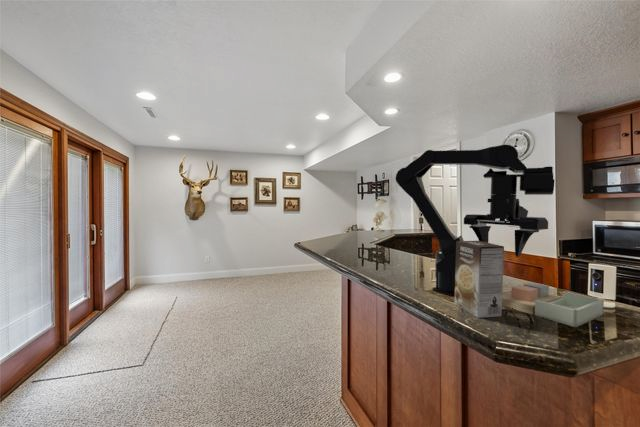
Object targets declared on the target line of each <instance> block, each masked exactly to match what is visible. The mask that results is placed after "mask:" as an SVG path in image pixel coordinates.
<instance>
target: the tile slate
mask: <svg viewBox="0 0 640 427" xmlns="http://www.w3.org/2000/svg"><path fill="white" fill-rule="evenodd" d="M522 285H523V286H527V287H532V288H536V289H538V298H542V297H546V296H548V295H549V294H550V293H549V290H550V289H549V288H550V286H549V285H546V284H542V283H537V282H533V281H530V282H526V283H523V284H522Z"/></svg>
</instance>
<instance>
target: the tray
mask: <svg viewBox="0 0 640 427" xmlns="http://www.w3.org/2000/svg"><path fill="white" fill-rule="evenodd" d="M604 302H605V300H604V299H602V298H597V297H592V296H588V295H584V294H579V293H575V292H569V291H564V290H563V291H562V298H561V299H558V300H555V301H552V302H550V303H547V302H544V301H540V300H535V314H534V316H536V317H539V316H540V317H539V318H542V317H544V319H546V318H547V319H546V320H549V321H553V322H556V323H559V324H563V325H566V326H569V327H573V328H578V327H580V326H582V325H584V324H587V323H589V322H591V321H593V320H595V319H597V318H599V317H601V316H603V315H604Z"/></svg>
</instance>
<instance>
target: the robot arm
mask: <svg viewBox="0 0 640 427" xmlns="http://www.w3.org/2000/svg"><path fill="white" fill-rule="evenodd" d="M517 150H518V149H516V147H515V146H513V145H511V144H501V145H495V146H489V147H485V148H482V149H472V150H471V149H470V150H469V149H467V150H466V149H465V150H462V149H461V150H457V149H456V150H432V149H427V150H426V151H424V152H423V153H422V154H421V155H420V156H419V157H417V158H416V159H414V160H413V161H412V162H410V163H409V164H408V165H407V166H406V167H402V168H399V170H398V171H397V173H396V174H395V182H396V184H398V186H399V187H400V188H401V189H402V190H403V191H404V193H406V194H407V195H408V196H409V197H411V199H412V200H413V201H414V203H415V205H416V206H417V208H418V210H419V211H420V213H421V215H422V216H423V218H424V219H425V222H427V224H428V226H429V228H430V229H431V231H432V232H433V234H434V235H435V237H436V238H437V241H438V246H439V245H440V248H441V252H442V254H443V257H444V258H442V259H441V260H440V261H439V262H438V263H437V264H436V277H435V286H434V287H432V288H431V289H432V291H434V292H438V293H441V294H444V295H447V296H448V295H449V296H455V268H456V241H465V240H464V238H463V236H462V235H459V236H458V237H456V235H454V234H453V233H452V231H451V230H450V229H449V226H447V224H446V222H445V220H444V219H443V218H442V216H441V215H440V213H439V211H438V209H437V208H436V206H435V205H434V203H433V202H432V200H431V198H430V197H429V196H428V194H427V193H426V190H425V186H424V183H423V180H422V177H424V176H425V175H426V174H427V172H429V171H430V169H431V168H432V167H433V166H435V165H443V166H444V165H449V166H450V165H454V166H457V165H458V166H462V165H464V166H465V165H467V166H470V165H472V166H481V167H486V168H489V169H488V171H486V173H484V174H483V178H484V179H491V181H490V182H491V183H490V198H487V203H490V204H489V206H490V208H489V213H487V214H479V213H478V214H475V213H472V214H471V213H470V214H465V216H464V218H463V225H468V227H469V228H470V229H472V230H473V233H474V234H475V236H476V237H477V239H478V240H477V241H482V242H487V243H489V234H490V233H489V232H490V230H491V227H492V226H491V225H500V226H501V225H502V226H514V227H519V229H514V253H515V257H516V258H520V257H521V255H522V253H523V250H524V248H525V246H526V244H527V242H528V240H530V238H531V237H532V235H533V234H535V233H540V232H539V231H542V230H548V229H549V221H548V219H547V218H546V217H542V216H541V217H539V216H538V217H537V216H528V214H529V210H528V209H526V208H525V207H523V206H521V205H520V199H519V198H517V188H518V187H517V186H518V185H517V184H518V178H519V191H520V192H521V191H522V192H524V195H525V196H527V195H528V196H529V195H530V196H532V195H535V196H536V195H541V196H543V195H547V196H549V195H551V196H552V195H554V190H555V179H554V172H553V169H554V168H553V166H544V167H528V168H527V166H526V165H525V163H523V162H522V161H521V160H520V159H519V152H518V151H517ZM493 169H496V170H493ZM507 170H509V171H510V172H512V173H514V174H507ZM488 224H489V225H488ZM440 248H439V249H440Z"/></svg>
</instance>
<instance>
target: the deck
mask: <svg viewBox="0 0 640 427" xmlns="http://www.w3.org/2000/svg"><path fill="white" fill-rule="evenodd" d="M511 293H512V290H508V291H505V292H502V307H505V306H506V307H505V308H509V307H510V308H509V309H512V308H513V310H515V309H516V311H519V312H523V313H525V314H526V313H527V314H528V315H535V300H533V301H530V302H528V301H525V300H521V299H517V298H513V297H511ZM561 298H563V296H560V295H557V294H551V293H549V295H548V296H546V297H542V298H538V299H536V300H540V301H544V302H547V303H550V302H552V301H555V300H558V299H561Z"/></svg>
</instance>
